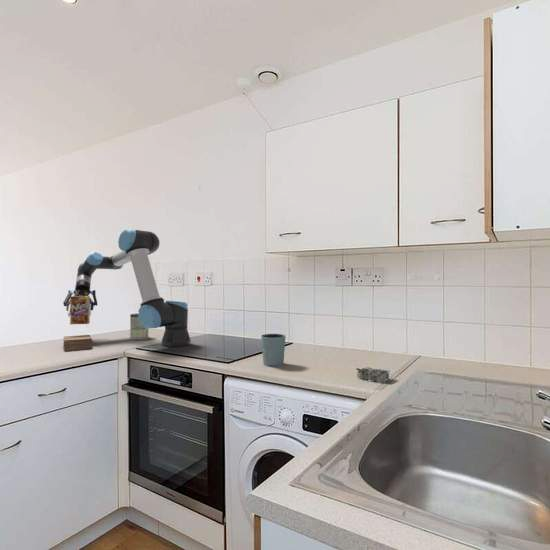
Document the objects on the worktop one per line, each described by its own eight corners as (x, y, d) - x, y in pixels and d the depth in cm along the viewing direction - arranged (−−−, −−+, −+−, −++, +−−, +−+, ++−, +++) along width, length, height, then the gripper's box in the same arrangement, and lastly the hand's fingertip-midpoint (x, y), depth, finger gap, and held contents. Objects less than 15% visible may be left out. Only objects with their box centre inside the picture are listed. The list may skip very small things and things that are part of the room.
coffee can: (127, 337, 218) (127, 314, 218) (144, 336, 224) (145, 313, 224) (133, 340, 210) (133, 315, 210) (151, 338, 216) (151, 314, 216)
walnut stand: (91, 348, 184) (91, 338, 184) (64, 350, 178) (64, 340, 178) (89, 344, 196) (89, 334, 196) (63, 346, 190) (63, 336, 190)
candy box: (69, 324, 196) (69, 296, 197) (72, 323, 201) (72, 295, 201) (87, 324, 199) (87, 295, 199) (90, 323, 203) (90, 295, 203)
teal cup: (287, 362, 156) (288, 334, 156) (281, 368, 146) (282, 337, 146) (265, 360, 159) (265, 333, 159) (257, 366, 149) (257, 336, 149)
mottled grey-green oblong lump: (354, 379, 132) (354, 367, 132) (363, 375, 137) (363, 364, 138) (383, 384, 125) (383, 372, 125) (391, 379, 131) (391, 368, 131)
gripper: (104, 288, 218) (102, 318, 203) (62, 289, 210) (56, 320, 195) (103, 280, 213) (101, 309, 198) (60, 280, 205) (54, 310, 190)
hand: (79, 314), depth 197 cm, fingers closed on candy box, 9 cm apart
